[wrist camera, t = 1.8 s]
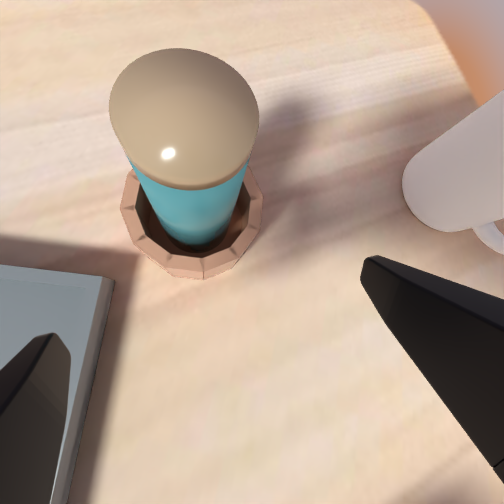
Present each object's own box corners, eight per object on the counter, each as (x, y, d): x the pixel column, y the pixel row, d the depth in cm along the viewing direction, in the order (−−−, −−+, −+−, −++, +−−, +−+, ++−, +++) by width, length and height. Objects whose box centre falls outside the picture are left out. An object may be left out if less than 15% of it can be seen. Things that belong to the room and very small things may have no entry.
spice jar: (232, 198, 21) (265, 67, 10) (224, 257, 20) (251, 189, 9) (169, 187, 21) (126, 33, 9) (158, 248, 20) (92, 161, 8)
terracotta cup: (255, 184, 23) (267, 154, 18) (244, 285, 21) (254, 278, 16) (151, 165, 21) (137, 129, 17) (129, 271, 20) (108, 260, 15)
